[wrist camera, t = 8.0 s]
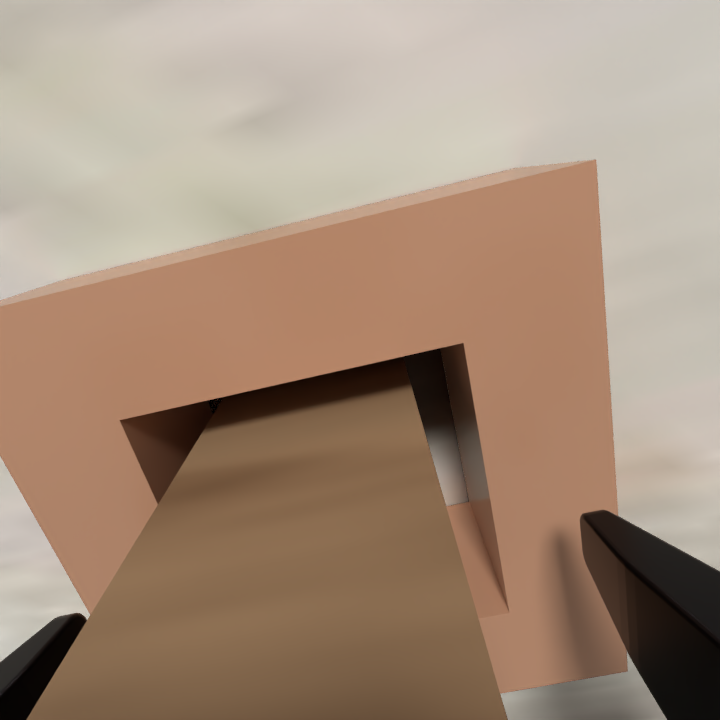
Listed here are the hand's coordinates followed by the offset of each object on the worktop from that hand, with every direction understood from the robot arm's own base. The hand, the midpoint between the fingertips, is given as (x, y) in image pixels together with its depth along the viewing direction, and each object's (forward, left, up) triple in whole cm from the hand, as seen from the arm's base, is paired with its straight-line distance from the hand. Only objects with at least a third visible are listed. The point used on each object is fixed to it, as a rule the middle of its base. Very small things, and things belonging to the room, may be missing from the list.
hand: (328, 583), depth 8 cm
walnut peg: (0, 0, -6) cm, 6 cm away
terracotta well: (0, 0, -6) cm, 6 cm away
